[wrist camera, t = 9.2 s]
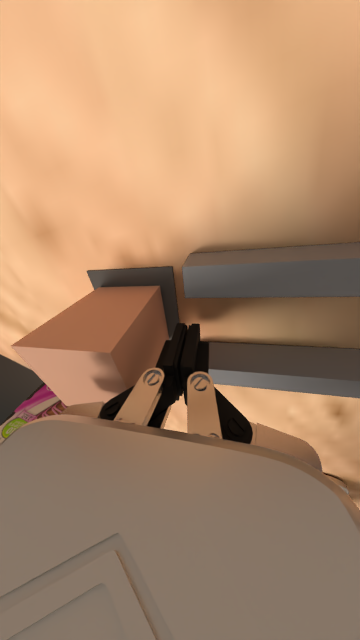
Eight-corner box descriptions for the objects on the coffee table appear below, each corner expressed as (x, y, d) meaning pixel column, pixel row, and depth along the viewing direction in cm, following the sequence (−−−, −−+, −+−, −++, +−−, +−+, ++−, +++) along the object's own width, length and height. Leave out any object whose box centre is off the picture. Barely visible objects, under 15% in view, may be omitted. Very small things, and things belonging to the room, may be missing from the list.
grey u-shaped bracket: (369, 365, 15) (435, 433, 10) (196, 354, 18) (189, 401, 14) (477, 234, 9) (745, 259, 4) (189, 253, 12) (174, 278, 8)
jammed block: (169, 338, 17) (140, 417, 11) (118, 336, 18) (65, 405, 12) (159, 285, 14) (110, 352, 7) (99, 287, 15) (10, 346, 9)
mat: (182, 347, 18) (182, 348, 18) (118, 344, 20) (117, 344, 19) (172, 266, 13) (172, 266, 13) (87, 270, 15) (86, 271, 14)
